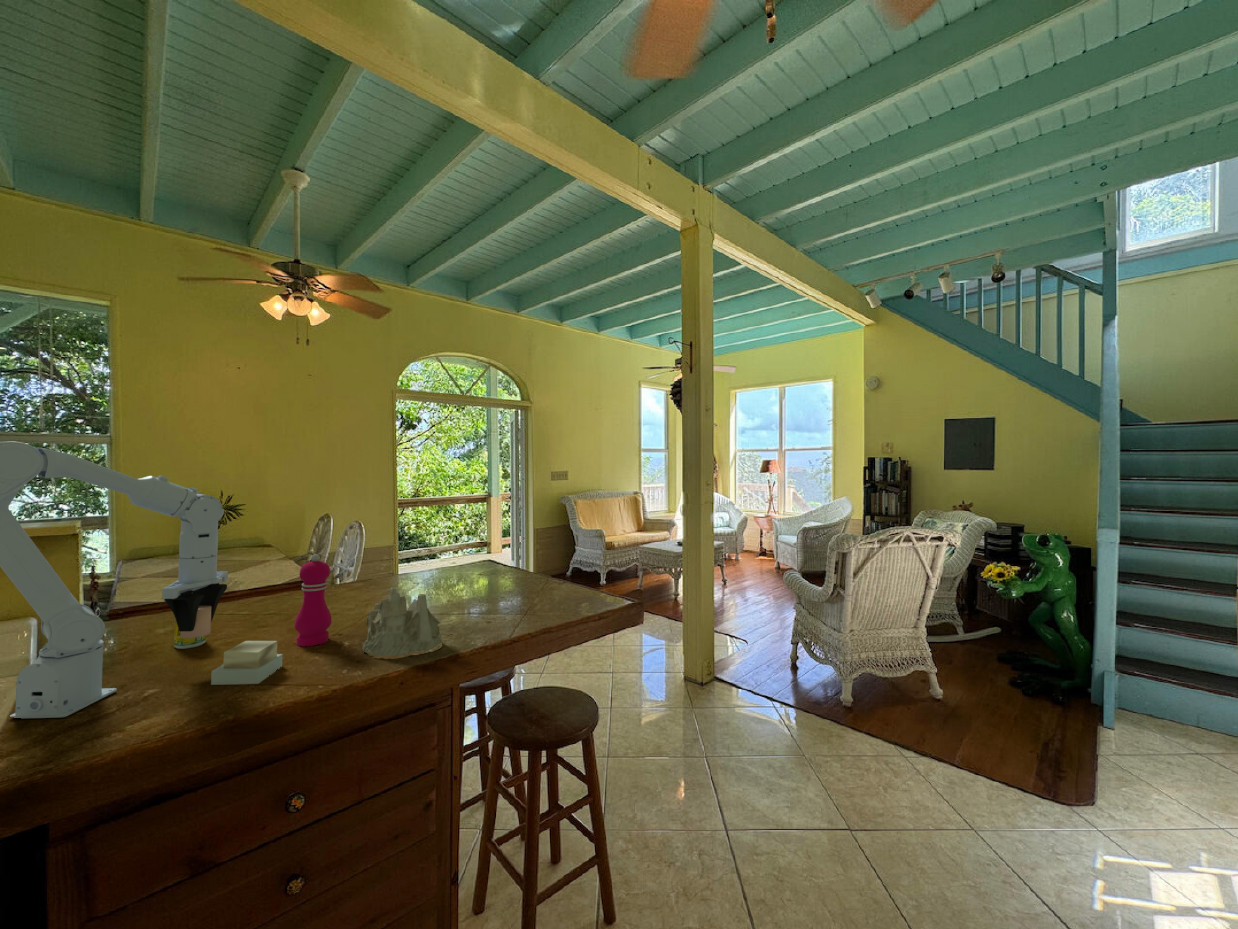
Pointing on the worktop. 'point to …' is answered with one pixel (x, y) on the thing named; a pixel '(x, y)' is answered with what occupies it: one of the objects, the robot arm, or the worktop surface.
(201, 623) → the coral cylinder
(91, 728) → the worktop surface
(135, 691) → the worktop surface
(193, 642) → the supplement bottle
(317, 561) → the pepper mill
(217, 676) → the grey base slab
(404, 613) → the grey rock mountain model
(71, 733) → the worktop surface
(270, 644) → the birch top slab
